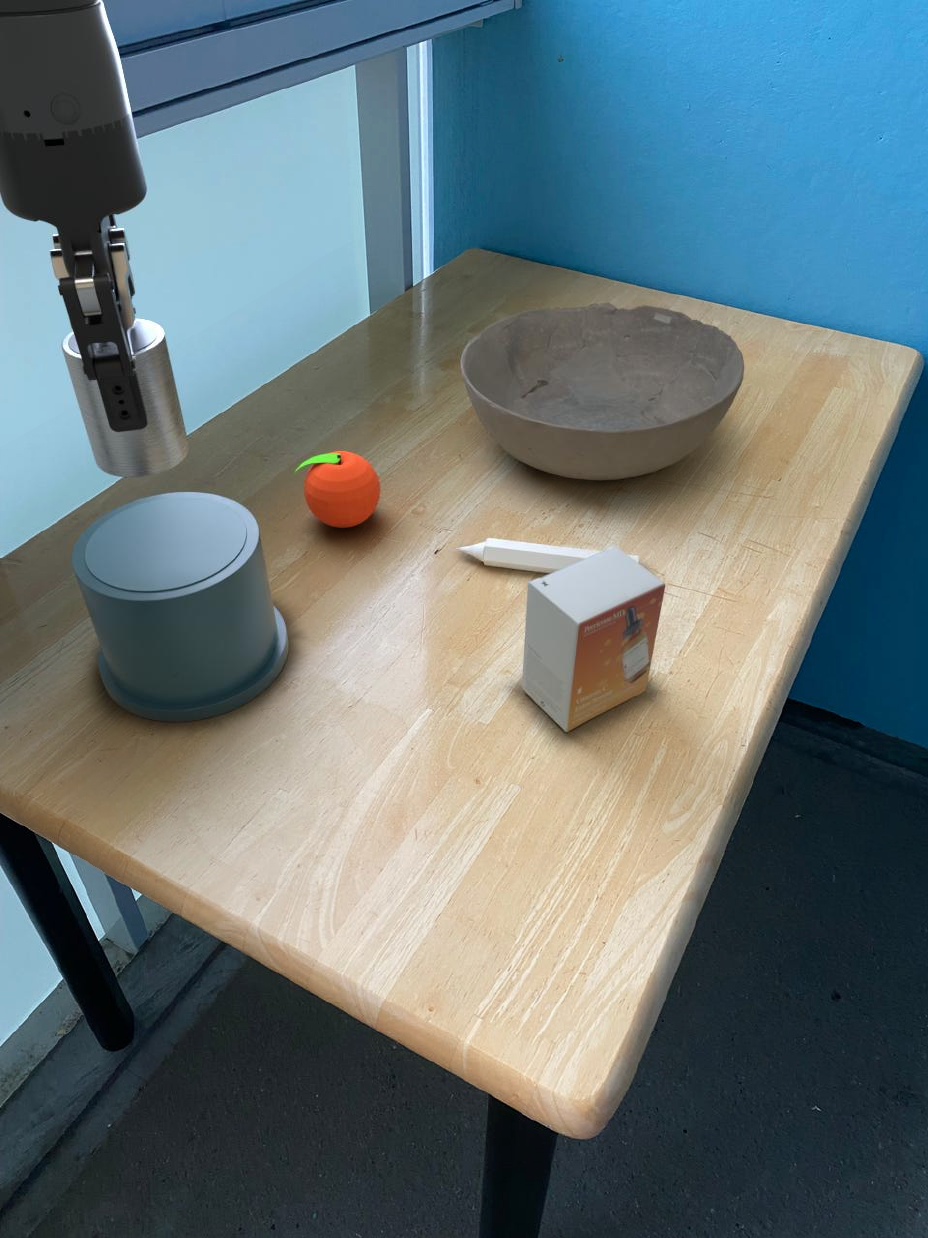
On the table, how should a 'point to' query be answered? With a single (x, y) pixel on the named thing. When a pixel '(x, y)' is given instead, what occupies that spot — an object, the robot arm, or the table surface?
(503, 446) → the bowl
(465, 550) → the white pencil
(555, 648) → the small box
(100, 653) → the blue flanged cylinder
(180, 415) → the cup
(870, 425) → the table surface
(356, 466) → the clementine
